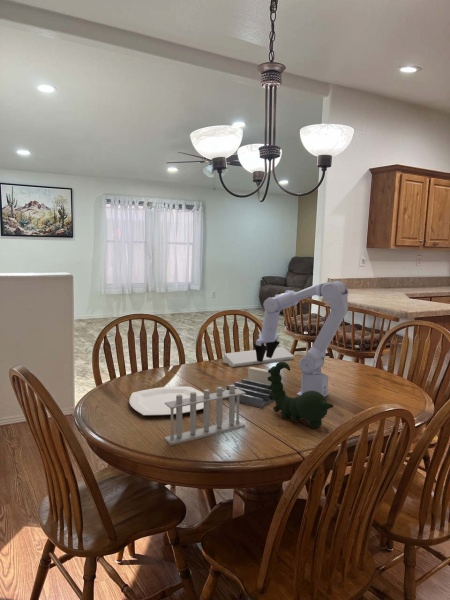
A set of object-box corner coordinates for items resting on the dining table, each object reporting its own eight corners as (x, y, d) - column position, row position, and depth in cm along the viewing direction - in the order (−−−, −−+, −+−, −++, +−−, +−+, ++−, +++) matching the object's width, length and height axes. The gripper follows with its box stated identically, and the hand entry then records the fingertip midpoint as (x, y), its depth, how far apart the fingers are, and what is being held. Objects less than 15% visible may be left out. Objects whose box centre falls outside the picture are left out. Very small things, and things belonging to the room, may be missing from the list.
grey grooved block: (282, 395, 160) (283, 387, 160) (261, 408, 147) (261, 399, 146) (242, 385, 170) (242, 378, 170) (218, 396, 157) (218, 389, 157)
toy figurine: (262, 418, 143) (324, 437, 123) (260, 361, 142) (321, 372, 122) (282, 411, 149) (343, 429, 129) (280, 357, 148) (341, 367, 128)
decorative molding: (292, 364, 213) (281, 355, 221) (294, 356, 211) (282, 346, 220) (232, 373, 197) (222, 362, 205) (233, 363, 196) (224, 353, 204)
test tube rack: (237, 422, 135) (238, 381, 134) (245, 427, 131) (246, 385, 130) (164, 439, 122) (164, 395, 121) (170, 445, 118) (170, 399, 117)
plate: (124, 396, 157) (124, 391, 157) (194, 388, 167) (194, 383, 167) (136, 424, 133) (136, 418, 132) (218, 413, 142) (218, 408, 142)
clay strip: (281, 387, 169) (281, 372, 169) (278, 389, 167) (278, 374, 167) (251, 380, 177) (251, 366, 177) (247, 382, 175) (248, 368, 175)
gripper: (269, 321, 177) (264, 352, 179) (251, 326, 165) (246, 359, 168) (285, 326, 173) (279, 358, 176) (267, 331, 161) (261, 365, 164)
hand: (264, 359), depth 171 cm, fingers open, 7 cm apart
